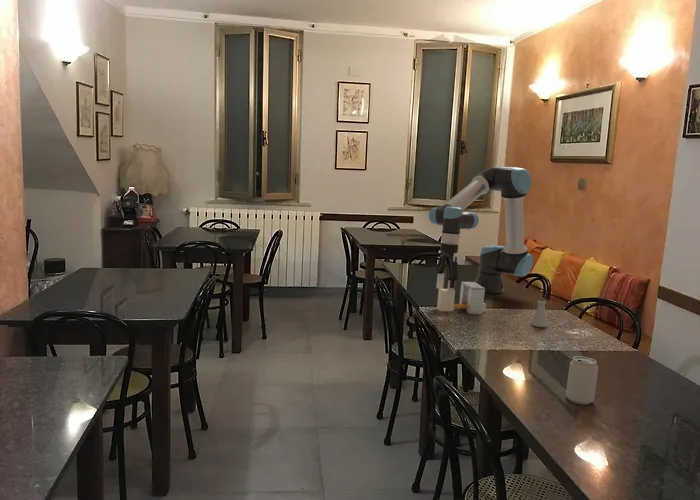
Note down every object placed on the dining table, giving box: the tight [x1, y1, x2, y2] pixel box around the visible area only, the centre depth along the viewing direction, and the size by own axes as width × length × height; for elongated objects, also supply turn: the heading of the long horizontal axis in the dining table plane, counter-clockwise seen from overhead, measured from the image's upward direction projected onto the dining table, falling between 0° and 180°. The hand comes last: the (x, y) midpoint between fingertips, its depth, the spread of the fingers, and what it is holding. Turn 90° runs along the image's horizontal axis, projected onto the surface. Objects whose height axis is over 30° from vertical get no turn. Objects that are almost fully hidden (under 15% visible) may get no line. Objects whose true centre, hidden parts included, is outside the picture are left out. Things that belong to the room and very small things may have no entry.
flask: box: [529, 300, 549, 328], centre depth 246 cm, size 7×7×10 cm
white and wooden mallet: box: [436, 288, 487, 313], centre depth 262 cm, size 21×4×9 cm, turn 102°
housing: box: [458, 281, 486, 315], centre depth 263 cm, size 6×12×12 cm, turn 11°
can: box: [565, 355, 599, 405], centre depth 167 cm, size 8×8×12 cm
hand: (444, 291), depth 260 cm, fingers open, 13 cm apart
